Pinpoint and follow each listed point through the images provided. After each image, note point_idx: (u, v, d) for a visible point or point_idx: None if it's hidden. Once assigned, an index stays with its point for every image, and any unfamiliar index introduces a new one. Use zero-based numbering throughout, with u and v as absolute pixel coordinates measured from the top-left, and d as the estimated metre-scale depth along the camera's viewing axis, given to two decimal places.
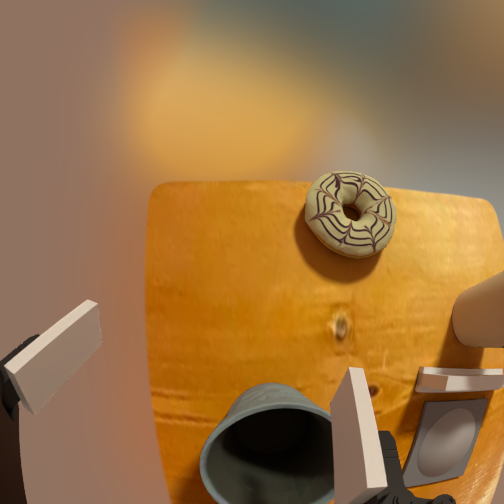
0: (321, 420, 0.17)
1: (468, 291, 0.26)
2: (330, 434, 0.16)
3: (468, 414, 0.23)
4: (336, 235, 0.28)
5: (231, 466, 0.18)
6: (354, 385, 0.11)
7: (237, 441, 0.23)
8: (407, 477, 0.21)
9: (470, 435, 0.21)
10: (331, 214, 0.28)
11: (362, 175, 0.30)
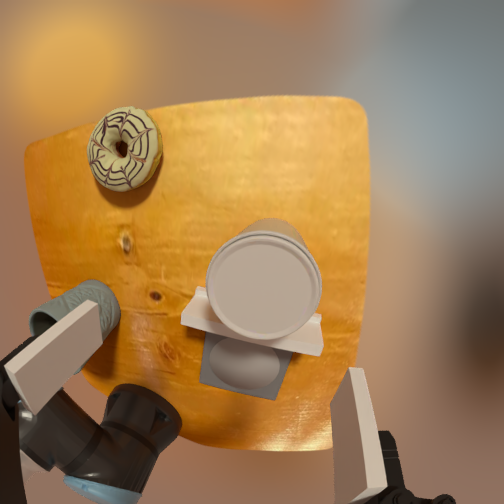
0: None
1: None
2: None
3: (266, 347, 0.36)
4: (101, 178, 0.30)
5: None
6: (354, 385, 0.11)
7: None
8: (205, 377, 0.39)
9: (273, 367, 0.37)
10: (97, 161, 0.29)
11: (128, 111, 0.27)
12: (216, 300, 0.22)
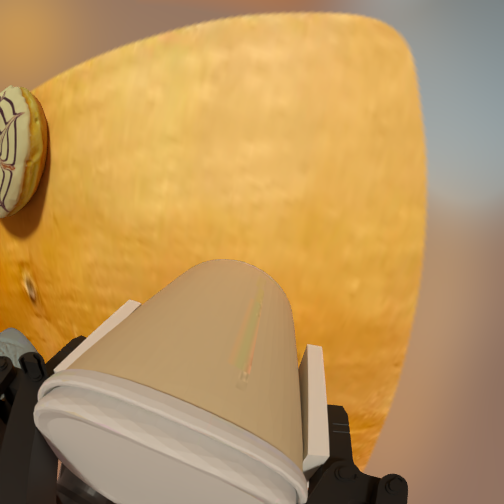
0: None
1: None
2: None
3: None
4: None
5: None
6: (309, 360, 0.12)
7: None
8: None
9: None
10: None
11: (3, 94, 0.11)
12: (76, 469, 0.06)
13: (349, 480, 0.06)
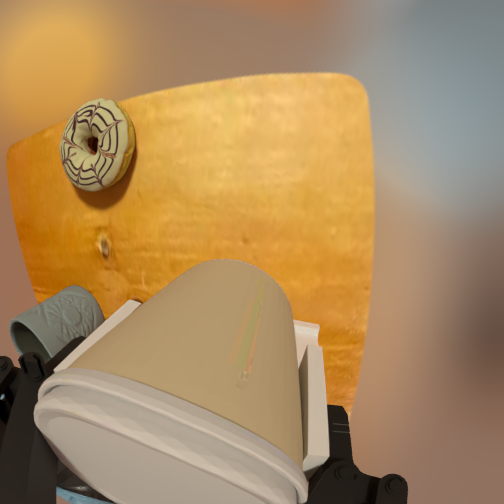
0: None
1: None
2: None
3: None
4: (73, 178, 0.26)
5: None
6: (309, 360, 0.12)
7: None
8: None
9: None
10: (68, 159, 0.25)
11: (97, 104, 0.23)
12: (76, 469, 0.06)
13: (350, 479, 0.06)
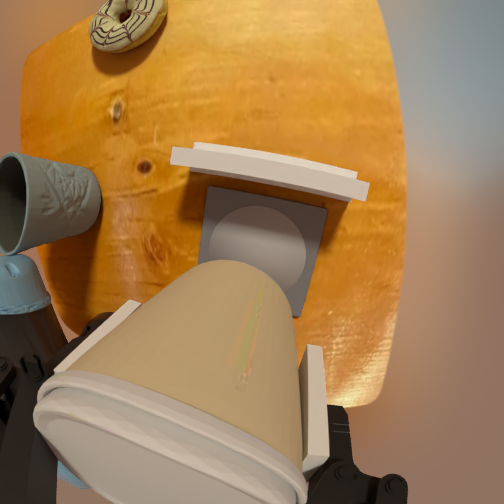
0: None
1: (169, 284, 0.14)
2: None
3: (287, 221, 0.27)
4: (100, 41, 0.21)
5: None
6: (309, 360, 0.12)
7: None
8: None
9: (297, 256, 0.28)
10: (99, 27, 0.20)
11: None
12: (76, 470, 0.06)
13: (350, 479, 0.06)
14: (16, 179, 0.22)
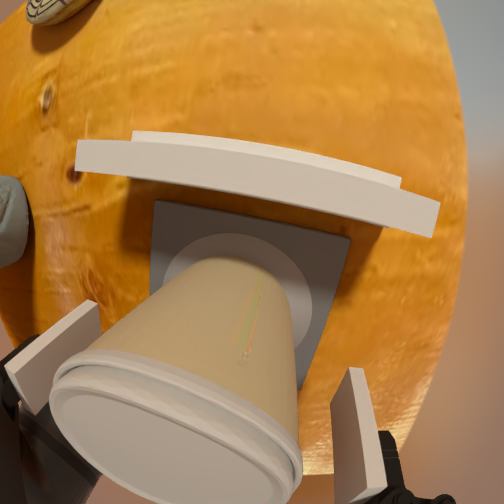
0: None
1: None
2: None
3: (282, 259, 0.16)
4: (33, 13, 0.10)
5: None
6: (354, 385, 0.11)
7: None
8: None
9: (298, 313, 0.17)
10: None
11: None
12: (86, 452, 0.07)
13: None
14: None
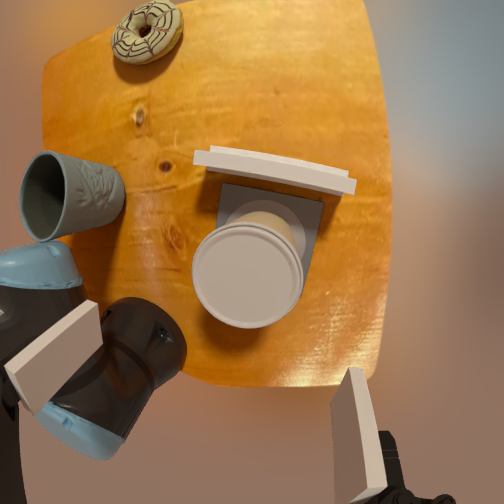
0: None
1: None
2: None
3: (289, 213, 0.32)
4: (123, 53, 0.26)
5: (56, 221, 0.29)
6: (354, 385, 0.11)
7: None
8: None
9: (298, 242, 0.33)
10: (121, 41, 0.25)
11: (154, 2, 0.23)
12: (201, 290, 0.23)
13: None
14: (47, 175, 0.27)
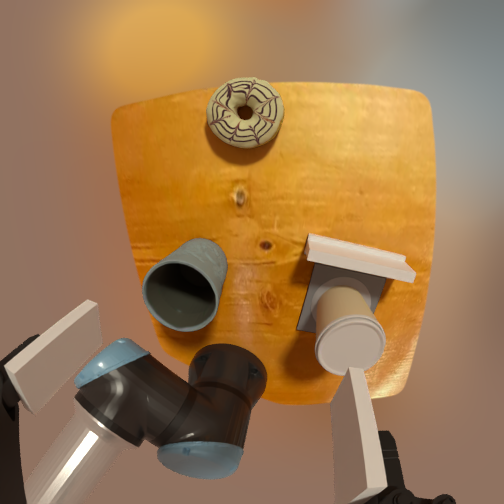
0: None
1: (328, 294, 0.40)
2: None
3: (362, 286, 0.42)
4: (226, 135, 0.36)
5: (171, 297, 0.40)
6: (354, 385, 0.11)
7: (183, 280, 0.45)
8: (304, 322, 0.45)
9: None
10: (222, 120, 0.35)
11: (253, 81, 0.33)
12: (322, 356, 0.33)
13: None
14: (166, 263, 0.36)
